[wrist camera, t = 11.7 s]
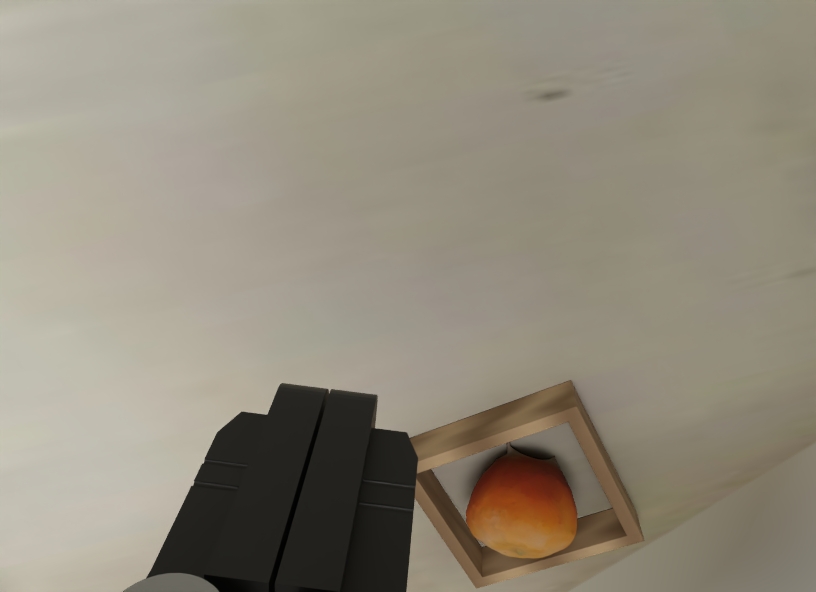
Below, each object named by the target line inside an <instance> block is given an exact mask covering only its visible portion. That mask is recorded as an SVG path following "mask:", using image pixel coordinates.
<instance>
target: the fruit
mask: <svg viewBox="0 0 816 592" xmlns="http://www.w3.org/2000/svg"><path fill="white" fill-rule="evenodd" d="M507 449H508V452H507V454H506V455H504V456H502V457H500V458H498V459H496V461H495V462H494V463H493V464H492V465H491V466H490V467H489V468H488V469H487V470H486V471H485V472H484V474H483V475H482V476H481V478H480V479H479V481H478V482H477V484H476V486H475V488H474V490H473V493H472V495H471V498H470V501H469V504H468V507H467V510H466V516H467V519H466V522H467V524H468V526H469V529H470V531H471V533H472V534H473V536H474V537H475V538H476V539H478V540H480V541H481V542H483V543H484V544H485V545H486V546H488V547H490V548H491V549H493V550H495V551H497V552H499V553H501V554H503V555H506V556H510V557H517V558H542V557H545V556H548V555H551V554H553V553H556V552H558V551H560V550H563V549H565V548H566V547H568V546H569V545H570V544H571V542H572V541H573V539H574V537H575V535H576V530H577V510H576V506H575V502H574V499H573V495H572V492H571V489H570V487H569V485H568V483H567V481H566V479H565V477H564V475H563V473H562V471H561V470H560V468H559V466H558V464H557V462H556V460H555V456H554V457H553V458H551V459H549V460H540V459H535V458H531V457H528V456H526V455H523V454H521V453H519V452H518V451H516V450H514V449H513V448H511V446H510V443H509V442H508V443H507Z"/></svg>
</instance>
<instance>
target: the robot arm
mask: <svg viewBox="0 0 816 592" xmlns="http://www.w3.org/2000/svg"><path fill="white" fill-rule="evenodd" d="M377 399H378V396H377V395H373V394H365V393H357V392H350V391H342V390H334V389H331V391H330V393H329V390H328V389H324V388H316V387H308V386H301V385H293V384H285V383H281V384H280V386H279V388H278V390H277V392H276V395H275V397H274V400H273V402H272V405H271V407H270V410H269V412H268V415H264V414H256V413H248V412H241V413H240V414H238V415H237V416H236V417H235V418H234V419H233V420H231V421H230V422H229V423H228V424H227V425H225V426H224V427H223V428H222V429H221V430H220V431H218V432H217V434H216V436H215V438H214V440H213V442H212V445H211V447H210V449H209V451H208V453H207V455H206V457H205V461H204V464H202V465H201V467H200V469H199V472H198V474H197V476H196V478H195V480H194V485H193V486H191V488H190V490H189V492H188V494H187V496H186V499H185V501H184V503H183V505H182V507H181V509H180V511H179V513H178V515H177V517H176V519H175V521H174V523H173V526H172V528H171V530H170V532H169V534H168V536H167V538H166V540H165V542H164V544H163V546H162V548H161V550H160V553H159V555H158V557H157V559H156V561H155V563H154V565H153V567H152V569H151V571H150V573H149V574H148V576H147V578H146V579H144V580H142V581H139V582H137V583H135V584H134V585H132V586H130V587H129V588H127V589H125V590H124V591H123V592H406V588H407V577H408V566H409V555H410V544H411V533H412V522H413V510H414V500H415V488H416V477H417V466H418V456H417V454H416V452H415V450H414V447H413V445H412V443H411V441H410V439H409V436H408V434H407V432H399V431H391V430H383V429H375V421H376V411H377Z"/></svg>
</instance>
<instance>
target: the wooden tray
mask: <svg viewBox="0 0 816 592" xmlns="http://www.w3.org/2000/svg"><path fill="white" fill-rule="evenodd" d="M566 422H569V424H570V426H571V428H572V430H573V432H574V434H575V436H576V438H577V440H578V442H579V444H580V446H581V447H582V449H583V451H584V453H585V455H586V457H587V459H588V461H589V463H590V465H591V467H592V469H593V471H594V473H595V475H596V477H597V478H598V480H599V482H600V484H601V486H602V488H603V490H604V492H605V494H606V496H607V498H608V500H609V502H610V504H611V506H612V509H609V510H606V511H602V512H599V513H596V514H592V515H589V516H586V517H582V518H579V519H577V530H576V535H575V537H574V539H573V541H572V542H571V544H570V545H569V546H568V547H566V548H565V549H563V550H560V551H558V552H556V553H553V554H551V555H548V556H545V557H542V558H517V557H510V556H506V555H503V554H501V553H499V552H497V551H495V550H493V549H491V548H490V547H488V546H486V547H483V548H481V546H480V545H479V543H478V541H477V540H476V538H475V537H474V536H473V534H472V533H471V531H470V529H469V528H468V526H467V525H466V523H465V521H464V520H463V518H462V517H461V515H460V514H459V512H458V511H457V509H456V508H455V506H454V505H453V503H452V501H451V500H450V498H449V497H448V495H447V494H446V492H445V491H444V489H443V488H442V486H441V485H440V483H439V481H438V480H437V478H436V477H435V475H434V474H433V472H432V471H431V469H432V468H435V467H438V466H441V465H444V464H446V463H449V462H452V461H455V460H458V459H461V458H464V457H467V456H470V455H473V454H476V453H478V452H481V451H484V450H487V449H490V448H493V447H496V446H499V445H502V444H505V443H508V442H511V441H513V440H516V439H519V438H522V437H525V436H528V435H531V434H534V433H537V432H540V431H543V430H545V429H548V428H551V427H554V426H557V425H560V424H563V423H566ZM410 441H411V443H412V445H413V447H414V450H415V452H416V454H417V456H418V466H417V477H416V488H415V499H416V500H417V502H418V503H419V505H420V506H421V508H422V509H423V511H424V512H425V514H426V515H427V517H428V518H429V519H430V521H431V522H432V524H433V525H434V527H435V528H436V530H437V531H438V533H439V534H440V536H441V537H442V539H443V540H444V542H445V543H446V545H447V546H448V547H449V549H450V550H451V552H452V553H453V555H454V556H455V558H456V559H457V561H458V562H459V564H460V565H461V567H462V568H463V570H464V571H465V572H466V574H467V575H468V577H469V578H470V580H471V581H472V583H473V584H474V586H475V587H476V588H480V587H483V586H487V585H490V584H494V583H497V582H501V581H504V580H508V579H511V578H515V577H519V576H522V575H526V574H529V573H533V572H536V571H540V570H543V569H547V568H550V567H554V566H557V565H561V564H564V563H568V562H571V561H575V560H578V559H582V558H586V557H589V556H593V555H596V554H600V553H603V552H607V551H610V550H614V549H617V548H621V547H624V546H628V545H631V544H635V543H638V542H642V541H644V538H643V534H642V531H641V527H640V524H639V520H638V517H637V513H636V510H635V508H634V506H633V504H632V502H631V500H630V498H629V496H628V494H627V492H626V490H625V488H624V486H623V484H622V482H621V480H620V478H619V476H618V474H617V472H616V470H615V468H614V466H613V464H612V462H611V460H610V458H609V456H608V454H607V452H606V450H605V448H604V446H603V444H602V442H601V440H600V438H599V436H598V434H597V432H596V430H595V428H594V426H593V424H592V422H591V420H590V418H589V416H588V414H587V412H586V410H585V408H584V406H583V404H582V402H581V400H580V398H579V396H578V394H577V392H576V390H575V388H574V386H573V384H572V382H571V380H570V381H568V382H565V383H562V384H559V385H557V386H554V387H551V388H548V389H545V390H543V391H540V392H537V393H534V394H532V395H529V396H526V397H523V398H520V399H518V400H515V401H512V402H509V403H507V404H504V405H501V406H498V407H496V408H493V409H490V410H487V411H484V412H482V413H479V414H476V415H473V416H471V417H468V418H465V419H462V420H459V421H457V422H454V423H451V424H448V425H446V426H443V427H440V428H437V429H435V430H432V431H429V432H426V433H423V434H421V435H418V436H415V437H412V438H410Z"/></svg>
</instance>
